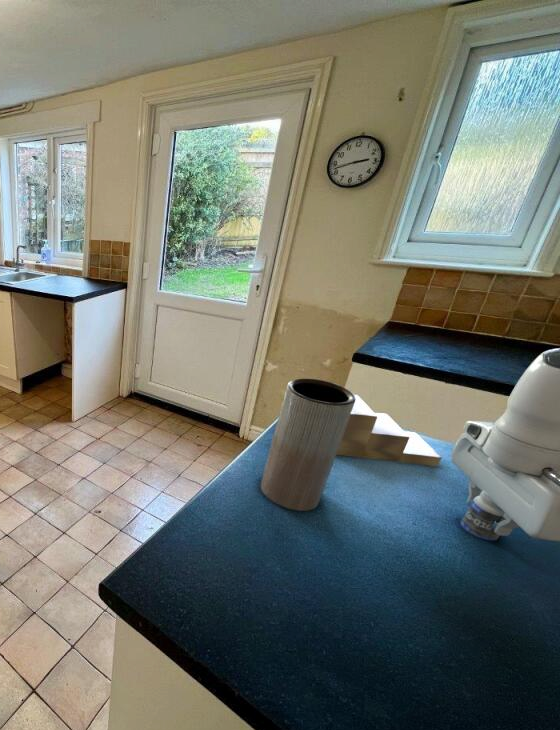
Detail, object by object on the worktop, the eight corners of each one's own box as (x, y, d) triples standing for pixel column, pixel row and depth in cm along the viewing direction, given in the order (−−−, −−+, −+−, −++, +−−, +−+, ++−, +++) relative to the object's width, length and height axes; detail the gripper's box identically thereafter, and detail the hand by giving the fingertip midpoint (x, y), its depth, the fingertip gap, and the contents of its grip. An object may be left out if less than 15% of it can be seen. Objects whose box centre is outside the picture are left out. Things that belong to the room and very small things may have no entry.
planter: (308, 483, 83) (342, 381, 73) (325, 517, 74) (367, 407, 65) (255, 475, 85) (281, 375, 76) (265, 508, 77) (296, 400, 67)
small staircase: (410, 443, 96) (429, 401, 91) (436, 469, 87) (458, 424, 82) (310, 432, 100) (323, 391, 96) (325, 455, 92) (340, 412, 87)
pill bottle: (452, 526, 73) (473, 488, 69) (470, 520, 74) (491, 482, 70) (484, 546, 68) (508, 507, 65) (503, 539, 70) (528, 501, 66)
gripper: (616, 498, 54) (560, 573, 60) (502, 420, 72) (468, 483, 78) (557, 491, 55) (508, 564, 61) (460, 416, 73) (429, 479, 79)
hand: (485, 518), depth 70 cm, fingers closed on pill bottle, 5 cm apart
